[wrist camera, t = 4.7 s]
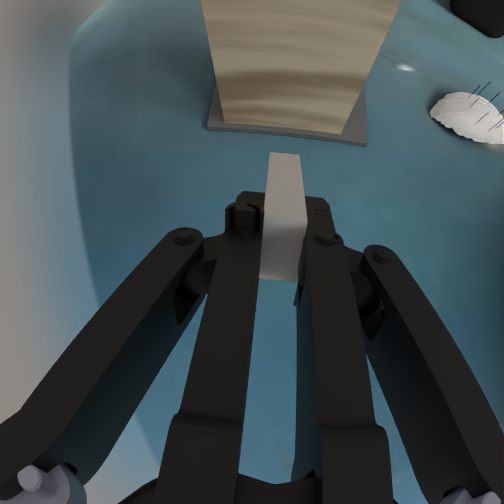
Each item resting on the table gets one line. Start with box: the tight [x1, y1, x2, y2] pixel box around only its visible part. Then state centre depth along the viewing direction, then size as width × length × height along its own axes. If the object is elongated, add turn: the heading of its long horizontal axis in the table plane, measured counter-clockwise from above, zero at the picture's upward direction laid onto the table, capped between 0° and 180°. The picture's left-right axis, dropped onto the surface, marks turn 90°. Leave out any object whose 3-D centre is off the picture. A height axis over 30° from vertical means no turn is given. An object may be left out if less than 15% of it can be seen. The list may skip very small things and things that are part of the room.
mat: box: [207, 81, 368, 147], centre depth 28 cm, size 26×14×1 cm, turn 174°
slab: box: [201, 0, 402, 134], centre depth 18 cm, size 5×10×16 cm, turn 84°
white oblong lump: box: [430, 82, 504, 145], centre depth 24 cm, size 12×6×6 cm, turn 91°
